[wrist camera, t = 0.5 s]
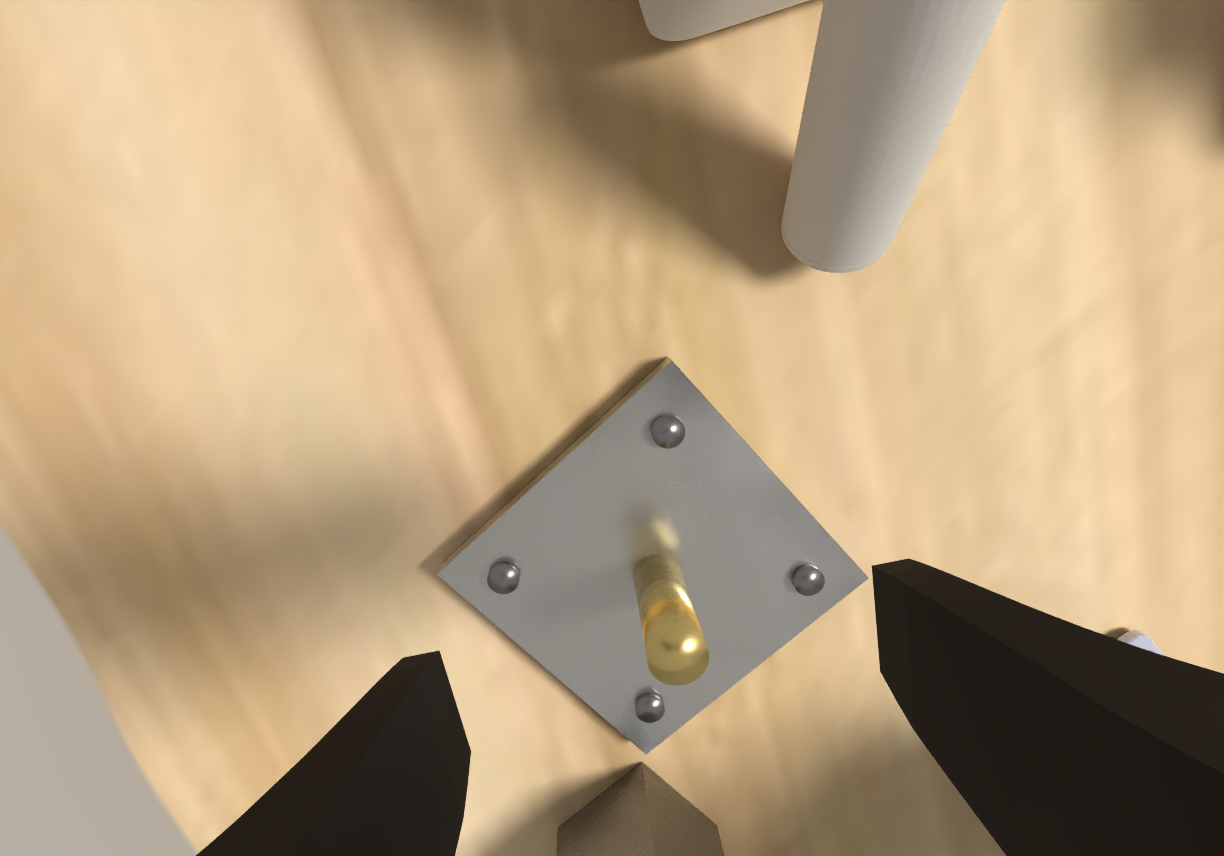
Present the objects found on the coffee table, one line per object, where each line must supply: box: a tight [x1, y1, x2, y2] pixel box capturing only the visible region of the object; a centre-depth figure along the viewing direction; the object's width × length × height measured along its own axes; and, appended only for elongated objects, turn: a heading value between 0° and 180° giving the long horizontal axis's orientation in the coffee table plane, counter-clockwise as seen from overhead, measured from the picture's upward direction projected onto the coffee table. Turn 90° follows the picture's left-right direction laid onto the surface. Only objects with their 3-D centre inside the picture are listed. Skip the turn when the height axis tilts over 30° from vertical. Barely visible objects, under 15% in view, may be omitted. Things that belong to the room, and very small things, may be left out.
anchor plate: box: [437, 357, 868, 754], centre depth 18 cm, size 10×10×5 cm
